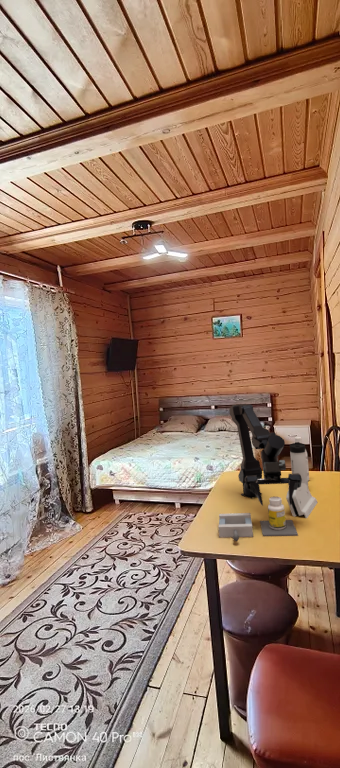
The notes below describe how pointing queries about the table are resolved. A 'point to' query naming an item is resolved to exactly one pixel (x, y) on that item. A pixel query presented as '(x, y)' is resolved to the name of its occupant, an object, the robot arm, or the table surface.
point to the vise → (235, 525)
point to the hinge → (301, 501)
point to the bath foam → (299, 439)
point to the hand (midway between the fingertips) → (276, 504)
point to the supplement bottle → (276, 513)
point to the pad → (287, 531)
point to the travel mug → (299, 460)
